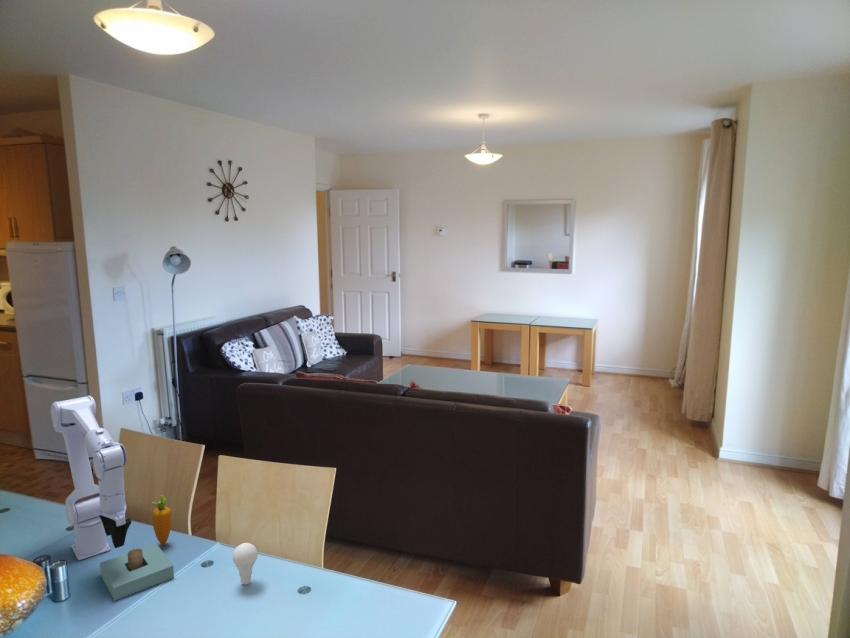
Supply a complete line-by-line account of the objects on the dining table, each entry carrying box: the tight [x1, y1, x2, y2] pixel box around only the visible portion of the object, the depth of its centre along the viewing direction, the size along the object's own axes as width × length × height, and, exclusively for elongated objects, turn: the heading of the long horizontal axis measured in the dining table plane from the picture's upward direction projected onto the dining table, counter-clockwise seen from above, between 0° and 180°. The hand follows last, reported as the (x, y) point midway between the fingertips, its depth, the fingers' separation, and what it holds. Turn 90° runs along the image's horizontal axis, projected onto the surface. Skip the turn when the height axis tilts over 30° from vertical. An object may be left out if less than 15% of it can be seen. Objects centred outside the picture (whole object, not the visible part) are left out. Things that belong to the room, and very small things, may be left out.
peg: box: [127, 548, 143, 572], centre depth 142 cm, size 3×3×7 cm
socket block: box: [99, 543, 175, 602], centre depth 142 cm, size 14×14×4 cm
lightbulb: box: [232, 542, 258, 585], centre depth 139 cm, size 6×6×11 cm
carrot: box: [151, 494, 172, 547], centre depth 156 cm, size 5×5×15 cm
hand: (115, 540), depth 142 cm, fingers open, 7 cm apart
